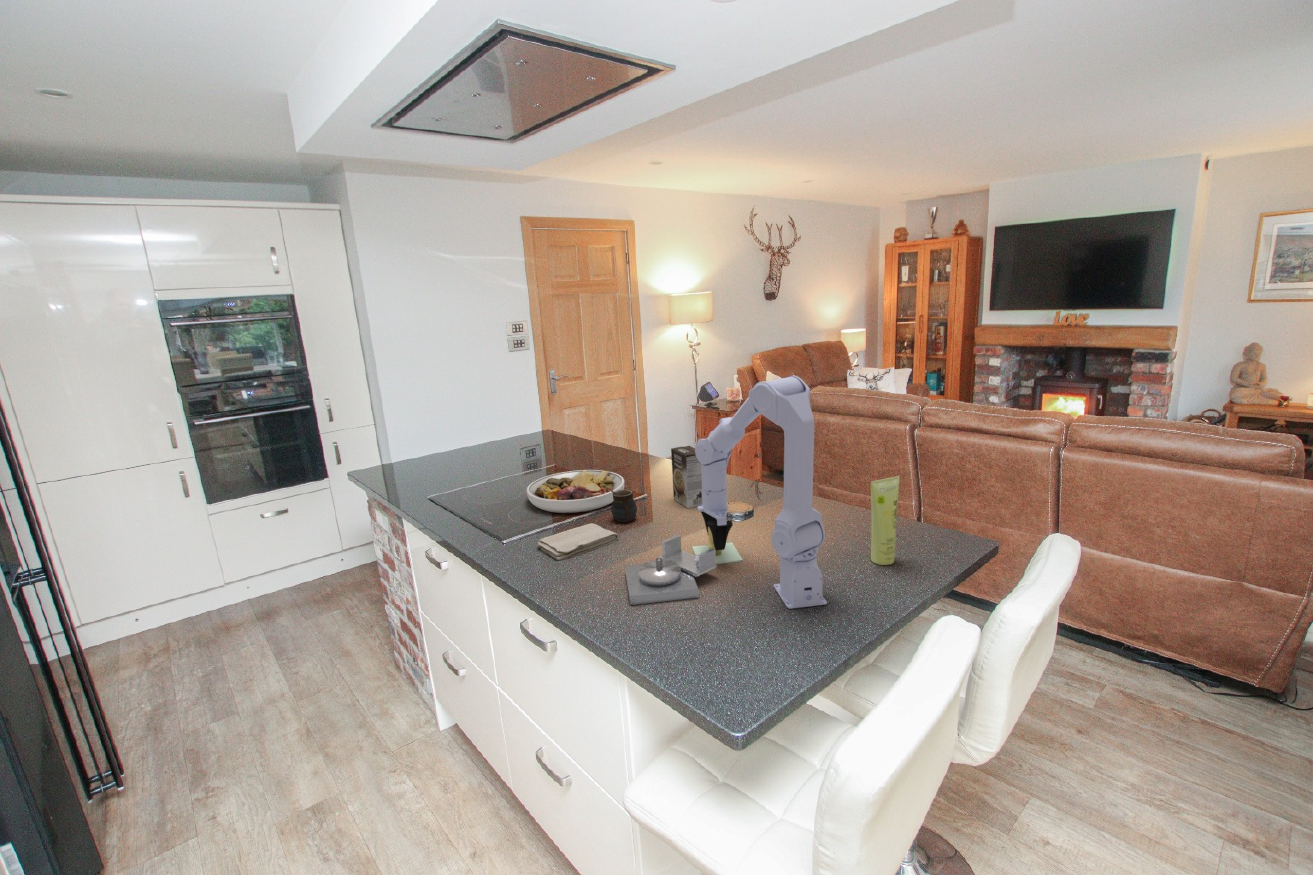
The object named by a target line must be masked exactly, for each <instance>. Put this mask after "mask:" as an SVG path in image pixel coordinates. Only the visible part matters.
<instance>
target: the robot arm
mask: <svg viewBox="0 0 1313 875" xmlns="http://www.w3.org/2000/svg"><path fill="white" fill-rule="evenodd" d="M760 415H762V416H763V417H765V418H766V419H767V420H769V421H770V422H773V424H775V425H776V426H779V427H781V429H782V430H783V431H784V441H783V442H784V445H783V446H784V447H783V451H784V452H783V507H782V509H781V511H780V512H779V513H778V515H777V516H776V517H775V519H774V528H773V530H772V532H771V535H770V539H771V540H770V541H771V545H772V548H773V549H774V551H775V553H776V555H777V556H778V557H779V583H774V584H773V588H774V589H775V591H776V593H777V594H778V596H779V597H780V599H781V600H782V602H783V603H784V605H785V606H786V608H787V609H790V610H791V609H799V608H806V607H815V606H823V605H824V606H825V605H827V604H828V601H827V600H826V599H825V597H824V595H823V593H824V592H823V589H824V588H823V586H824V585H823V581H824V580H823V579H824V578H823V573H822V571H821V570H820V568H819V565H818V560H817V559H818V552H820V546H821V545H822V544H823V543H824V542H825V539H826V531H825V526H824V524H823V520H822V518H823V516H822V513H820V511H818V510H817V509H815V508H814V507H813V495H814V494H813V493H814V490H813V489H814V458H815V457H814V453H815V452H814V451H815V419H814V414H813V411H812V407H811V388H810V387H809V386H808V385H807V383H805V381H804V380H803V379H802V378H801V377H800V376H797V375H790V376H787V377H784V378H777V379H772V380H765V381H764V380H762V381H759V382H757V383H756V384H754V386H753V388H751V389H750V390H749V391H748V397H747V398H746V400H745V401H743V403H742V404H741V406H740V407H739V408H738V409H737V411H736V412H735V413H734V415H733V416H731V417H729V416H728V417H723V418H720V419H719V421H718V423H719V424H718V425H717V426H716V427H715V428H714V429H713V430H711V431H710V432H709V433H708V436H707V438H698V440H697V442H696V443H695V447H694V448H695V454H696V457H697V459H698V461H699V462H700V463H701V475H702V501H703V505H701V506H697V511H698V512H700V514H701V516H702V518H703V520H704V524H705V529H706V533H707V535H708V527H709V528H710V530H711V533H712V537H713V543H714V547H715V550H724V549H725V546H726V543H727V541H728V540H727V539H728V536H729V533H730V531H731V529H732V528H733V525H734V524H733V521H732V520H727V514H728V510H729V505H728V485H727V484H728V483H727V481H728V480H727V467H728V466H729V460H730V457H732V450H733V448H734V447H736V446H737V445H738V443H740V441H741V440H743V438H744V437H745V434H746V430H745V429H746V428H747V427H748V426H749V425H750V424H751V423H752V422H753V421H755V420H756V419H757V418H758V417H759V416H760Z"/></svg>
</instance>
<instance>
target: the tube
mask: <svg viewBox="0 0 1313 875" xmlns="http://www.w3.org/2000/svg"><path fill="white" fill-rule="evenodd" d="M900 479H901V478H900V475H896V476H892V477H887V478H882V479H881V478H880V479H877V480H872V481H870V504H871V506H870V507H871V509H870V510H871V514H870V515H871V523H870V524H871V528H870V529H871V534H870V535H871V537H870V538H871V540H870V541H871V542H870V560H871V561H872V563H874V564H876V565H879V566H880V565H881V566H889V565H892V564H894V563H895V554H896V536H897V535H896V534H897V517H898V504H899V491H900V490H899V489H900Z"/></svg>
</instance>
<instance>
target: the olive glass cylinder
mask: <svg viewBox="0 0 1313 875" xmlns="http://www.w3.org/2000/svg"><path fill="white" fill-rule="evenodd" d="M707 538H708V545H709V549H715V547H714V543H713V537H712V533H711V530H710V528H709V527H708V534H707ZM715 554H716V556H718V555H721V554H722V550H715Z"/></svg>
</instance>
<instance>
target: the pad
mask: <svg viewBox="0 0 1313 875" xmlns="http://www.w3.org/2000/svg"><path fill="white" fill-rule="evenodd" d="M691 548H692V551H693V553H694V554H693V555H695V556H696V555H698V554H700V553H703V552H705V551H707V550H709V544H703V545H694V546H692V547H691ZM738 562H739V563H741V562H744V560H743V558H742V556H741V555H740V553H739V551H738V550H737V548H736V547H735V545H734V543H733V542H726V546H725V549H724V550H722V554H721V555H718V556H716V565H722V564H733V563H738Z"/></svg>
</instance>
